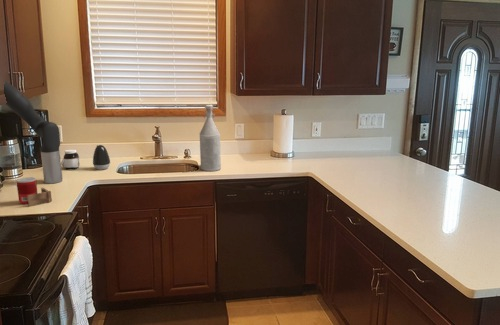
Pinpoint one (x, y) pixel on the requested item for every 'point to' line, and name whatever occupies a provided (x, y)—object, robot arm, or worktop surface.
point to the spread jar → (70, 159)
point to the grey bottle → (210, 143)
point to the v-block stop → (39, 197)
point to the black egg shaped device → (101, 158)
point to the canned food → (26, 188)
